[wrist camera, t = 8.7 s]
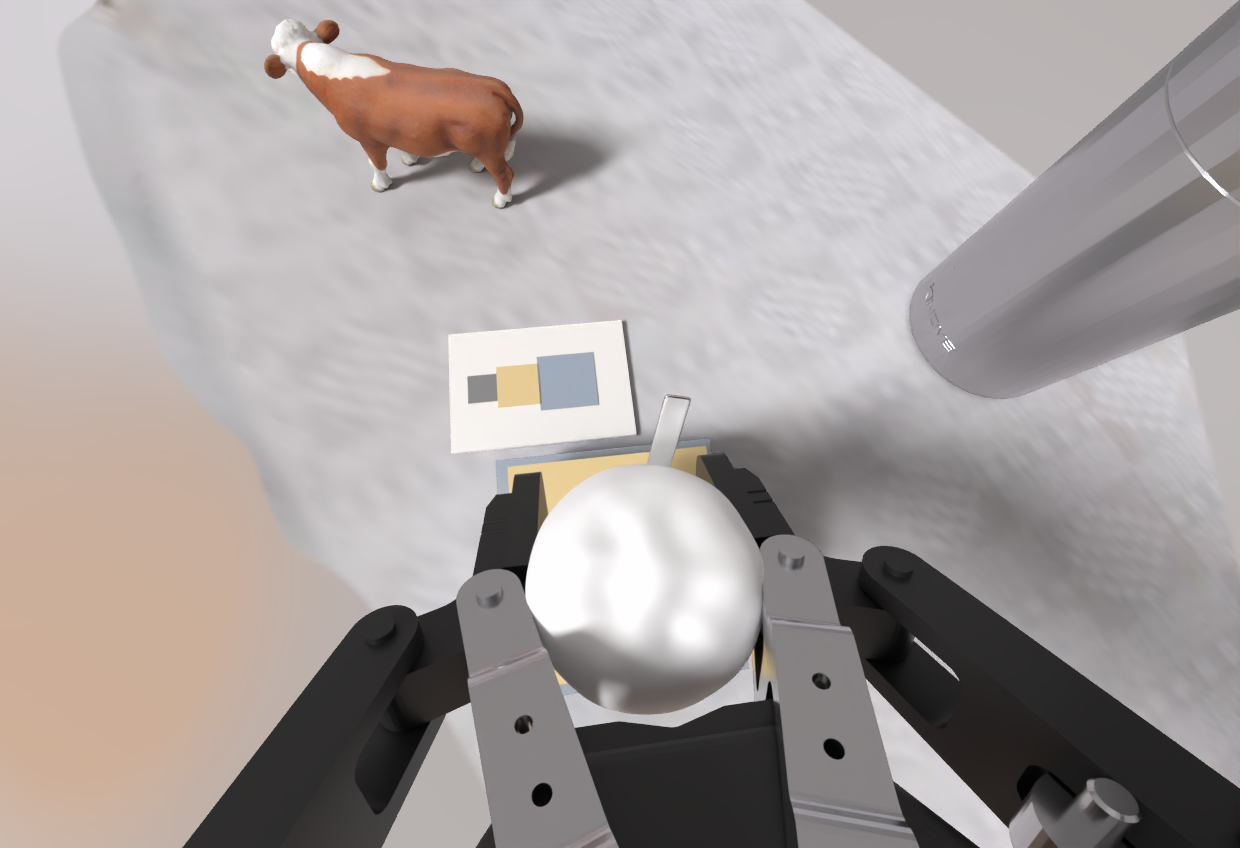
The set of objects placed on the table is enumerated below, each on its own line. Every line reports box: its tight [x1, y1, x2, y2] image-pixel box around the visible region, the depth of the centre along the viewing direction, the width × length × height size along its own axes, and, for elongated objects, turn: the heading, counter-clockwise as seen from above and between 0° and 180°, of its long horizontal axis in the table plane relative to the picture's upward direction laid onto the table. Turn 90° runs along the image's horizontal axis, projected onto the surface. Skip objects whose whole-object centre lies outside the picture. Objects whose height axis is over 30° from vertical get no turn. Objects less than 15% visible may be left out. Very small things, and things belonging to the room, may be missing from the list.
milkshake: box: [525, 394, 764, 715], centre depth 12 cm, size 4×5×10 cm
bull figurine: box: [264, 19, 523, 208], centre depth 28 cm, size 4×14×8 cm, turn 78°
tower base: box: [496, 438, 749, 695], centre depth 22 cm, size 10×10×7 cm
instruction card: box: [448, 320, 637, 455], centre depth 28 cm, size 10×7×1 cm
